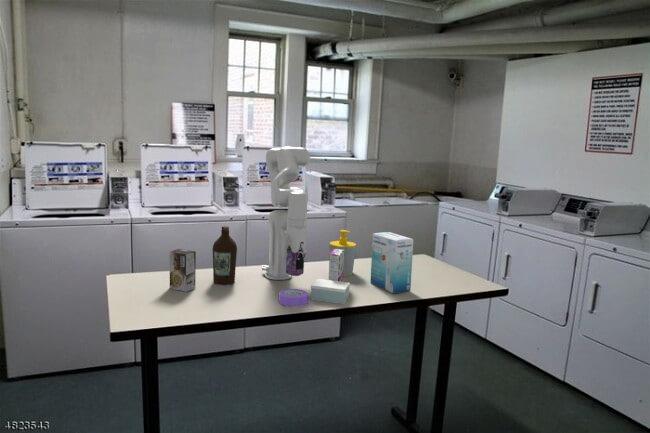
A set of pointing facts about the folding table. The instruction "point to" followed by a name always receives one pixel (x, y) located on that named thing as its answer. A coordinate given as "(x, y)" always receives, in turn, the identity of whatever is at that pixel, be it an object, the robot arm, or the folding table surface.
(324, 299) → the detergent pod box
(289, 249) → the beverage can
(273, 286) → the folding table surface
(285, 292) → the masking tape
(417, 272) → the folding table surface
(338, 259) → the candy bar box
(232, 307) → the folding table surface
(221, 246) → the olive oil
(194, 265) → the coffee box
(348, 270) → the soap bottle
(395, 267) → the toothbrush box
